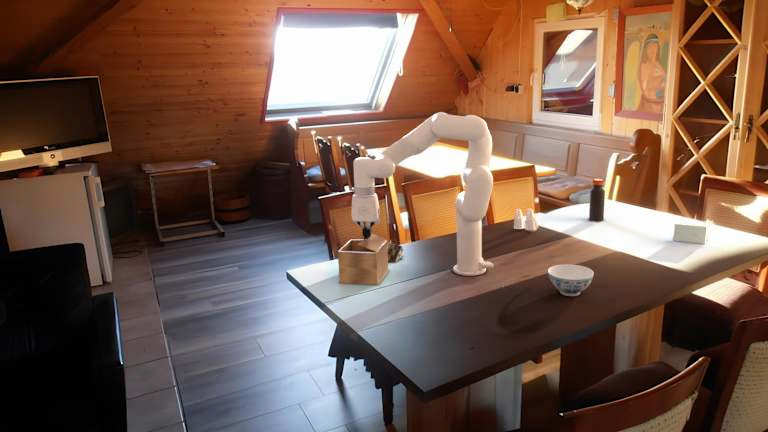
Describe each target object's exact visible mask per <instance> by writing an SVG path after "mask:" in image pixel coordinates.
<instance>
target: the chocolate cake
mask: <svg viewBox="0 0 768 432" xmlns="http://www.w3.org/2000/svg"><path fill="white" fill-rule="evenodd" d="M387 251H388V262H393V263H397V262H398V260H402V257H403V256H404V252H405V251H404V246H403V245H400V244H397V243H393V242H392V239H390V241H389V243H388V244H387Z"/></svg>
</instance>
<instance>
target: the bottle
mask: <svg viewBox="0 0 768 432" xmlns="http://www.w3.org/2000/svg"><path fill="white" fill-rule="evenodd" d="M603 186H604V179H602V178H593V179H592V187H591V188H590V190H589V212H588V219H589V221H592V222H601V221H604V217H605V195H606V190H605V188H604V187H603Z"/></svg>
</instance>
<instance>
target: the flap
mask: <svg viewBox="0 0 768 432" xmlns="http://www.w3.org/2000/svg"><path fill="white" fill-rule="evenodd" d="M361 240H362V241H361V242H360V243H359V244H358V245H359V246H361V247H364V248H367V249H369V250H372V251H375V252H376V251H377V250H378V249H379V248H380V247H381V246H382V244H383V243H384V242H385V241H388V240H387V238H385V237H383V236H379V235H377V234H375V233H372V232H371V236H370V238H369V239H364V238H363V239H361Z"/></svg>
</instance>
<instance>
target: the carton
mask: <svg viewBox="0 0 768 432" xmlns="http://www.w3.org/2000/svg"><path fill="white" fill-rule="evenodd" d="M362 240H363V239H350V240H348V242H346V243H345V244H344V245H343V246H342V247H341V248H340V249H339V250H338V251H337V261H338V262H337V263H338V276H339V283H340V284H354V285H356V284H357V285H371V286H379V284H380V282H381V281H382V280H383V279H384V277H385V276H386V275H387V274H388V272H389V260H388V251H387V248H388V240H386V241H385V242H384V243H383V244H382V246H381V247H380V248H379V249H378V250H377V251H376V252H375V251H372V250H369V249H367V248H364V247H361V246H359V245H358V244H359V243H360V242H361V241H362Z"/></svg>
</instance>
